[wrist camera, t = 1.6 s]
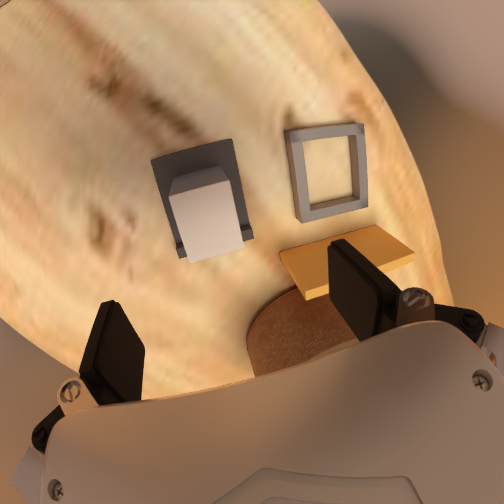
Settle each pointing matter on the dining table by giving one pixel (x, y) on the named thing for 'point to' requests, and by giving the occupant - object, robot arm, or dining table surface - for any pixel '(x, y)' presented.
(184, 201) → the plug
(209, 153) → the dark grey lipped plate
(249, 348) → the planter
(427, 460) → the robot arm
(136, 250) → the dining table surface
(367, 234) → the port
